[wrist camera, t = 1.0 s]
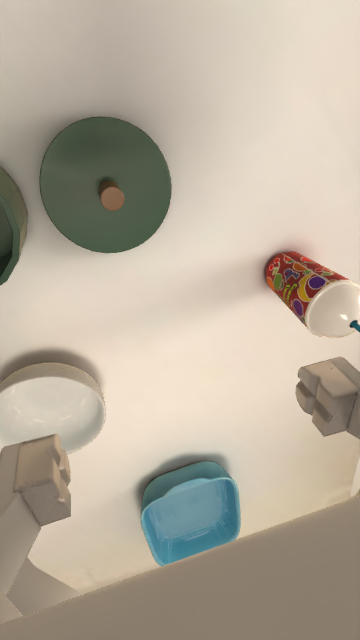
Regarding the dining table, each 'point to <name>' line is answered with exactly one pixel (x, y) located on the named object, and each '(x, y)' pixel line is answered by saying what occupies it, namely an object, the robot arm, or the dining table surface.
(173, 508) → the casserole dish
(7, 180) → the pot
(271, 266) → the smoothie
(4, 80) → the dining table surface
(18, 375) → the cereal bowl
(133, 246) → the pot lid
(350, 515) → the robot arm
